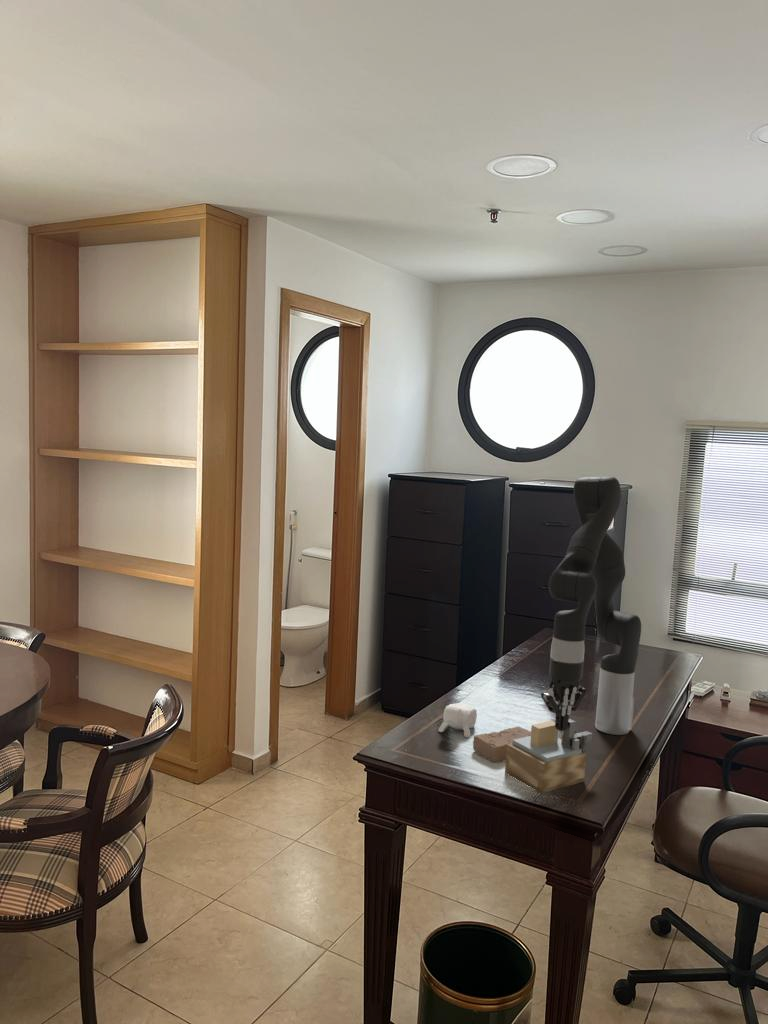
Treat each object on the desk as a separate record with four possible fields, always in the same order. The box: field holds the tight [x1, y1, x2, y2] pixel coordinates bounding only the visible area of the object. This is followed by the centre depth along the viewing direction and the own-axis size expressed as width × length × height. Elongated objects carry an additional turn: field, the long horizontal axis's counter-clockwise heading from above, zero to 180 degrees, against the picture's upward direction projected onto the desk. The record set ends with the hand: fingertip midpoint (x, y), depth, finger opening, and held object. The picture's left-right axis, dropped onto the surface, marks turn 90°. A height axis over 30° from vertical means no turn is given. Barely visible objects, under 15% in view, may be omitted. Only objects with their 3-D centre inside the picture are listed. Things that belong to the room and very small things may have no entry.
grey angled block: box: [562, 718, 593, 747], centre depth 184 cm, size 8×2×6 cm, turn 123°
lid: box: [512, 720, 582, 762], centre depth 184 cm, size 11×11×6 cm
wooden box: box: [504, 730, 587, 794], centre depth 185 cm, size 14×12×11 cm
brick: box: [472, 726, 531, 763], centre depth 199 cm, size 17×8×5 cm, turn 126°
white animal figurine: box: [438, 702, 478, 739], centre depth 210 cm, size 9×8×15 cm
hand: (561, 729), depth 181 cm, fingers closed
